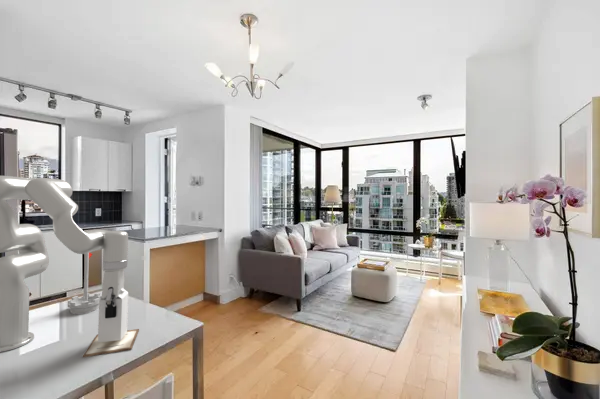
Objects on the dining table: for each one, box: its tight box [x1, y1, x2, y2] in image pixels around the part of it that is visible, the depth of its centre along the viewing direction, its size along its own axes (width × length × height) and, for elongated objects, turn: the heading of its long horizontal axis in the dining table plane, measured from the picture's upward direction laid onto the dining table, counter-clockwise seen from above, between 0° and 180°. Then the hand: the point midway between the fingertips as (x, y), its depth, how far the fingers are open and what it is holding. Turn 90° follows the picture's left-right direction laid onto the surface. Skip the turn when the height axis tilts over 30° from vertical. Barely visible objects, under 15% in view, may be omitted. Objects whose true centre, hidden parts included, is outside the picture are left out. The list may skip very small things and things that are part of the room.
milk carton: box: [97, 287, 129, 342], centre depth 100 cm, size 7×7×19 cm
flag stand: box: [67, 252, 102, 315], centre depth 129 cm, size 13×13×30 cm
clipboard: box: [82, 328, 140, 358], centre depth 100 cm, size 14×15×1 cm
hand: (113, 312), depth 100 cm, fingers closed on milk carton, 7 cm apart
